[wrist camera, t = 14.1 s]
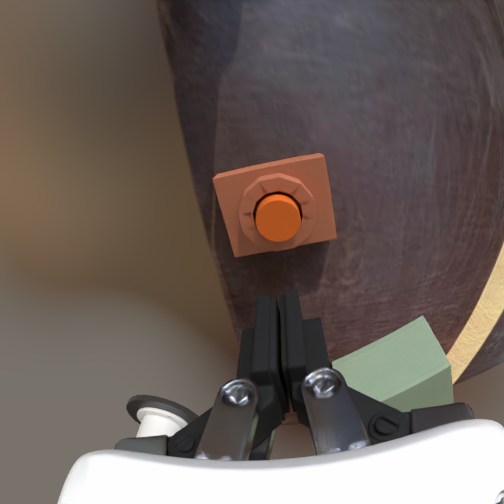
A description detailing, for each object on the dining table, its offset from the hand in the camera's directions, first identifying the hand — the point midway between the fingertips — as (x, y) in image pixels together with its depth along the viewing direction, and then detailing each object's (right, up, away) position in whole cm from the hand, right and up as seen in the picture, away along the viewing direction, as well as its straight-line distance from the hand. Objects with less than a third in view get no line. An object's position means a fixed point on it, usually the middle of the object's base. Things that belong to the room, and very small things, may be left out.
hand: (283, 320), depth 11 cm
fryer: (+20, -14, +25) cm, 35 cm away
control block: (+1, +8, +15) cm, 17 cm away
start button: (+1, +6, +12) cm, 13 cm away
